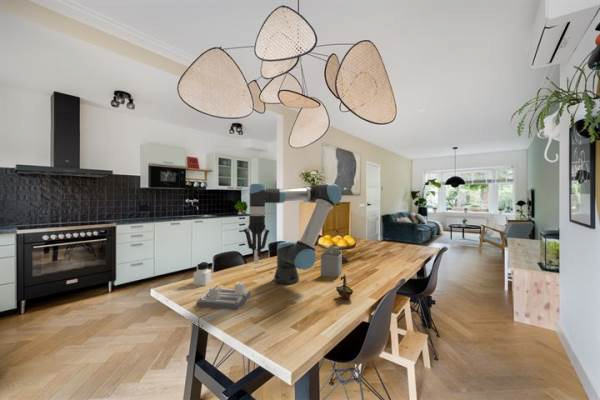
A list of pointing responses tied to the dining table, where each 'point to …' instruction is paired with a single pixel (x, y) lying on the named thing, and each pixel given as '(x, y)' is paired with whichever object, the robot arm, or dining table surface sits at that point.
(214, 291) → the fader
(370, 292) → the dining table surface
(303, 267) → the robot arm
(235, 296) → the grey compartment tray
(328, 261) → the planter
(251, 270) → the dining table surface
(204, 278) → the medicine bottle
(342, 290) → the figurine
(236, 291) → the white taped box
